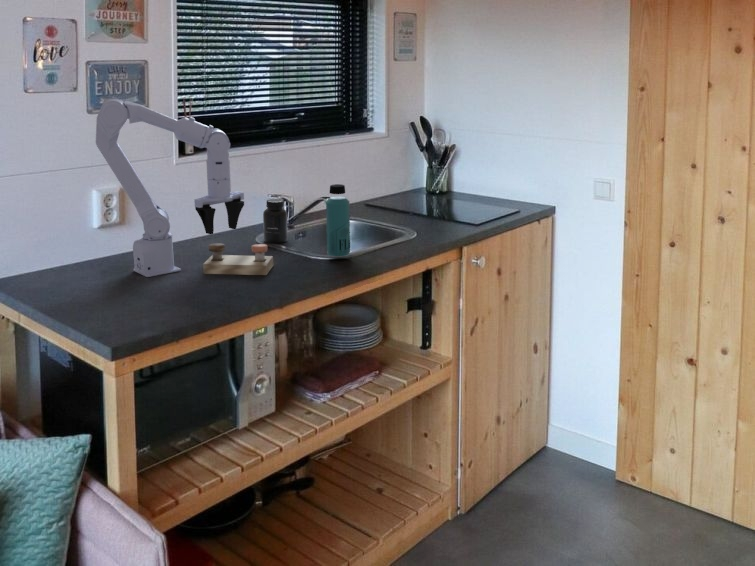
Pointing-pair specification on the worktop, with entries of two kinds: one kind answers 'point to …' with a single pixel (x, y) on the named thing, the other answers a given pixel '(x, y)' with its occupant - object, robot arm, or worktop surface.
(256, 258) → the terracotta plunger
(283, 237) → the supplement bottle
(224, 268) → the board
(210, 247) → the walnut plunger
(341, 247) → the beverage bottle
